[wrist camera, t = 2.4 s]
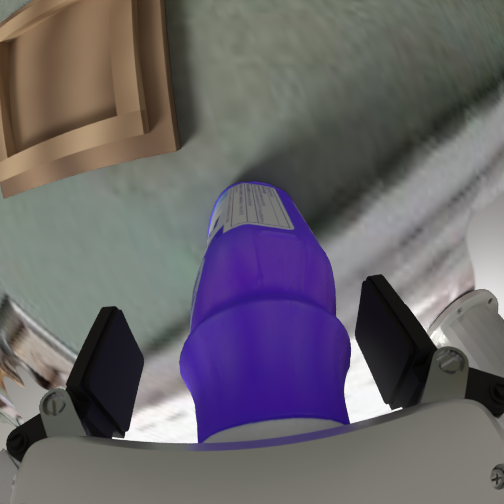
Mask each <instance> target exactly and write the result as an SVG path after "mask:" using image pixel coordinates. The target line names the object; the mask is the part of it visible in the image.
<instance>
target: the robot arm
mask: <svg viewBox="0 0 504 504" xmlns="http://www.w3.org/2000/svg"><path fill="white" fill-rule="evenodd" d="M355 338H356V341H357V343H358V345H359V347H360V349H361V351H362V354H363V356H364V358H365V360H366V362H367V365H368V367H369V369H370V371H371V373H372V376H373V378H374V380H375V382H376V385H377V387H378V389H379V391H380V394H381V396H382V398H383V401H384V403H385V404H389V405H390V408H391V410H394V409H397V408H400V407H402V408H403V409H401V410H398V411H395V412H392V413H388V414H385V415H382V416H378V417H375V418H371V419H367V420H363V421H359V422H356V423H352V424H348V425H344V426H339V427H335V428H330V429H326V430H321V431H316V432H310V433H305V434H299V435H292V436H286V437H279V438H271V439H262V440H252V441H241V442H225V443H155V442H140V441H128V440H118V439H112V437H117V438H124V436H125V432H127V431H128V430H129V427H130V422H131V417H132V413H133V408H134V404H135V399H136V395H137V390H138V386H139V382H140V378H141V374H142V370H143V366H144V358H143V355H142V353H141V351H140V349H139V347H138V345H137V343H136V341H135V339H134V336H133V334H132V332H131V330H130V328H129V326H128V323H127V321H126V319H125V317H124V314H123V312H122V311H121V310H118V308H117V307H116V306H111V307H102V308H101V310H100V312H99V314H98V316H97V318H96V320H95V322H94V324H93V326H92V328H91V330H90V332H89V334H88V336H87V338H86V340H85V342H84V344H83V346H82V349H81V351H80V353H79V355H78V357H77V359H76V362H75V364H74V366H73V368H72V371H71V373H70V375H69V378H68V380H67V383H66V386H67V388H66V390H64V389H60V388H58V389H53V390H50V391H49V392H48V393H46V394H45V395H44V397H42V399H41V401H40V405H39V410H40V414H38V415H37V416H35V417H33V418H32V419H30V420H29V421H27V422H25V423H24V424H22V425H20V426H19V427H17V428H16V429H14V430H13V431H12V432H11V433H10V434H9V436H8V438H7V443H6V446H7V450H5V449H2V450H1V451H0V504H504V320H503V318H502V317H501V316H500V315H499V314H498V301H497V299H496V297H495V296H494V295H493V294H492V293H491V292H490V291H488V290H485V289H479V290H475V291H472V292H470V293H468V294H465V295H464V296H462V297H461V298H459V299H458V300H456V301H455V302H454V303H453V304H451V305H450V306H449V307H448V308H447V309H446V310H445V311H444V312H443V313H442V314H441V315H440V316H439V317H438V318H437V320H436V321H435V322H434V323H433V325H432V326H431V327H430V329H429V330H428V332H427V333H426V331H425V330H424V328H423V327H422V325H421V324H420V323H419V321H418V320H417V318H416V317H415V316H414V314H413V313H412V312H411V310H410V309H409V308H408V306H407V305H406V304H404V302H403V301H402V300H401V298H400V297H399V296H398V294H397V293H396V292H395V290H394V289H393V288H392V286H391V285H390V284H389V283H388V281H387V280H386V279H385V277H384V276H383V275H381V274H379V275H373V276H368V277H367V278H366V281H363V283H362V289H361V297H360V304H359V310H358V317H357V323H356V329H355Z"/></svg>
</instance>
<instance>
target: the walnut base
mask: <svg viewBox="0 0 504 504" xmlns="http://www.w3.org/2000/svg"><path fill="white" fill-rule="evenodd" d="M180 149H181V145H180V139H179V132H178V125H177V117H176V110H175V102H174V94H173V85H172V77H171V67H170V58H169V47H168V36H167V23H166V9H165V0H33V1H31V2H30V3H28V4H27V5H25V6H24V7H22V8H21V9H19V10H18V11H16V12H15V13H13V14H12V15H11V16H9V17H8V18H6V19H5V20H4V21H2V22H1V23H0V186H1V190H2V194H3V198H4V199H5V198H8V197H10V196H13V195H15V194H18V193H21V192H24V191H26V190H29V189H32V188H35V187H38V186H41V185H44V184H47V183H50V182H53V181H56V180H59V179H63V178H66V177H69V176H73V175H76V174H80V173H83V172H87V171H90V170H94V169H98V168H102V167H106V166H110V165H114V164H118V163H122V162H127V161H131V160H136V159H140V158H145V157H150V156H155V155H160V154H165V153H171V152H176V151H178V150H180Z"/></svg>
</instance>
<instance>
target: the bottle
mask: <svg viewBox="0 0 504 504" xmlns="http://www.w3.org/2000/svg"><path fill="white" fill-rule="evenodd" d="M350 357H351V343H350V339H349V336H348V333H347V331H346V329H345V327H344V326H343V324H342V323H341V322H340V320H339V319H338V318H337V317H336V297H335V283H334V277H333V271H332V267H331V264H330V261H329V259H328V257H327V255H326V253H325V252H324V250H323V249H322V247H321V246H320V244H319V242H318V241H317V239H316V238H315V236H314V234H313V233H312V231H311V229H310V228H309V226H308V225H307V223H306V221H305V220H304V218H303V217H302V215H301V213H300V211H299V210H298V208H297V207H296V205H295V204H294V202H293V200H292V199H291V197H290V196H289V195H288V194H287V193H286V192H285V191H283V190H282V189H280V188H278V187H275V186H272V185H271V184H269V183H263V182H258V181H251V182H239V183H235V184H233V185H231V186H229V187H227V188H226V189H225V190H224V191H223V192H222V193H221V195H220V196H219V197H218V199H217V201H216V203H215V205H214V208H213V211H212V214H211V218H210V222H209V228H208V239H207V245H206V250H205V255H204V258H203V261H202V263H201V266H200V268H199V271H198V274H197V277H196V281H195V285H194V290H193V296H192V304H191V314H190V335H189V336H188V338H187V340H186V341H185V343H184V346H183V349H182V352H181V355H180V361H179V363H180V372H181V376H182V378H183V380H184V382H185V384H186V386H187V388H188V389H189V391H190V392H191V395H192V397H193V400H194V403H195V410H196V420H197V432H198V443H225V442H241V441H252V440H262V439H271V438H279V437H286V436H292V435H299V434H305V433H310V432H316V431H321V430H326V429H330V428H335V427H339V426H344V425H348V424H350V421H349V417H348V413H347V408H346V404H345V398H344V384H345V379H346V375H347V371H348V369H349V367H350Z"/></svg>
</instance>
